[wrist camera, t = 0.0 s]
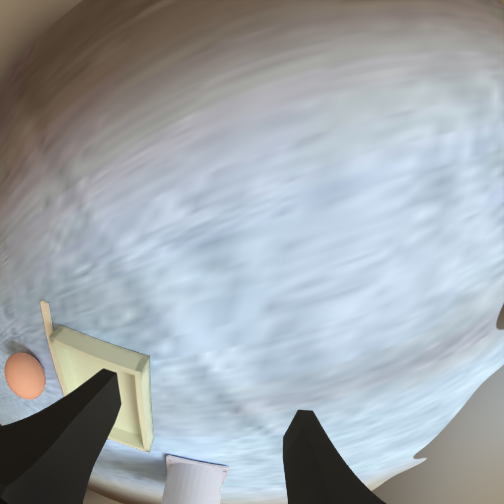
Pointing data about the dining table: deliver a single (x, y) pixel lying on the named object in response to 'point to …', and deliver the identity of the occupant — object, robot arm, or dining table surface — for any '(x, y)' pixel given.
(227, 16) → the dining table surface
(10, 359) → the ball
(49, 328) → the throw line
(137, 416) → the tray
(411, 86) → the dining table surface
